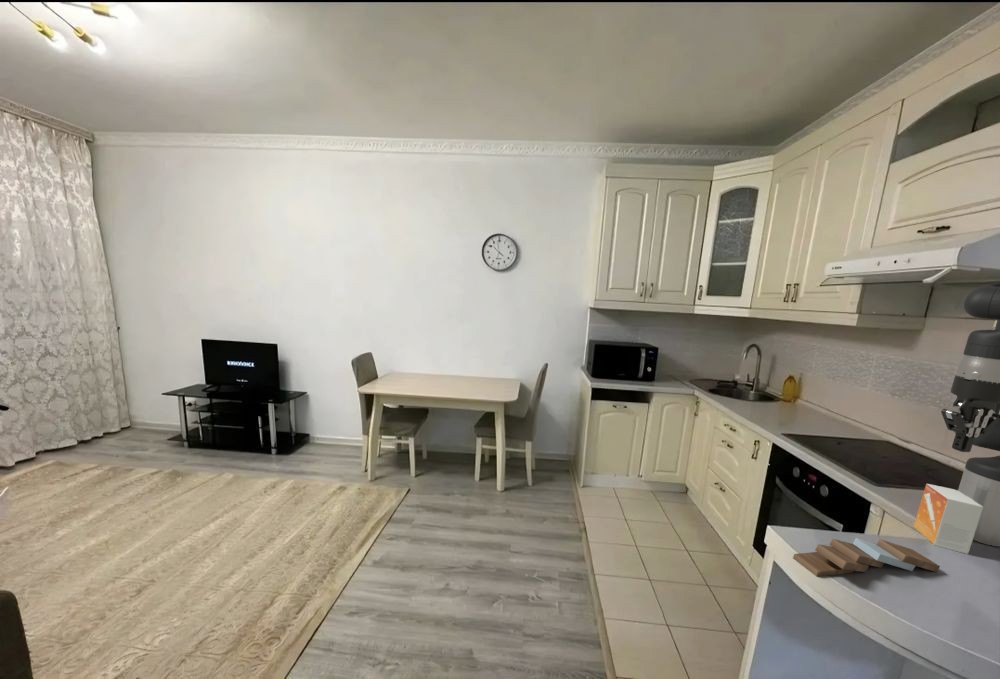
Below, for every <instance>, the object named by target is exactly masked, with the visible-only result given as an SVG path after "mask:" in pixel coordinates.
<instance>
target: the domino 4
mask: <svg viewBox="0 0 1000 679" xmlns="http://www.w3.org/2000/svg"><path fill="white" fill-rule="evenodd" d="M852 544H854V545H855V546H857V547H858V548H860V549H861V550H863V551H864V552H865V553H867V554H868V555H870V556H871V557H873V558H874V559H876V560H877V561H881V562H884V564H888V565H891V566H894V567H897V568H901V569H904V570H907V571H910V572H913V571H914V569H915V568H916V566H915V565H912V564H908V563H905V562H902V561H901V560H899V559H897V558H896V557H894V556H893V555H891V554H890V553H888V552H887V551H885V550H884V549H882V548H881V547H879V546H877V543H873V542H870V541H867V540H864V539H861V538H858V537H855V539H854V541H853V543H852Z"/></svg>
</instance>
